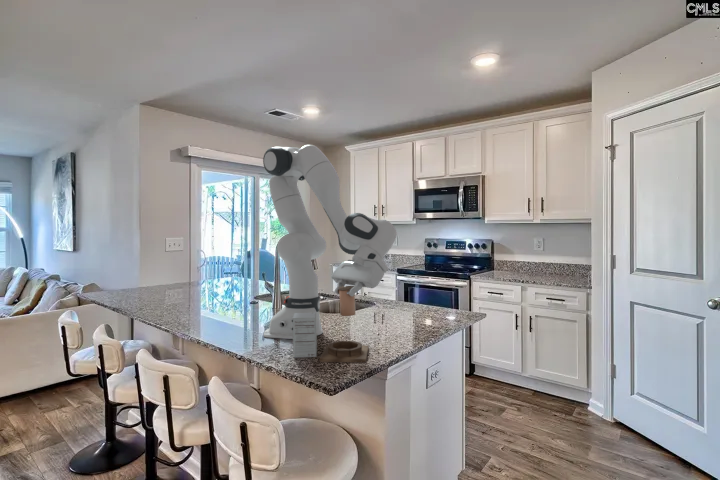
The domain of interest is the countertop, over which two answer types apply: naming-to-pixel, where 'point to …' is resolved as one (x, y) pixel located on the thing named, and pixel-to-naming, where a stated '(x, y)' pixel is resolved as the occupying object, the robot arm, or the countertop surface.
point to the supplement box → (304, 335)
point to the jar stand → (345, 352)
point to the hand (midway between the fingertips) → (343, 294)
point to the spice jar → (346, 301)
